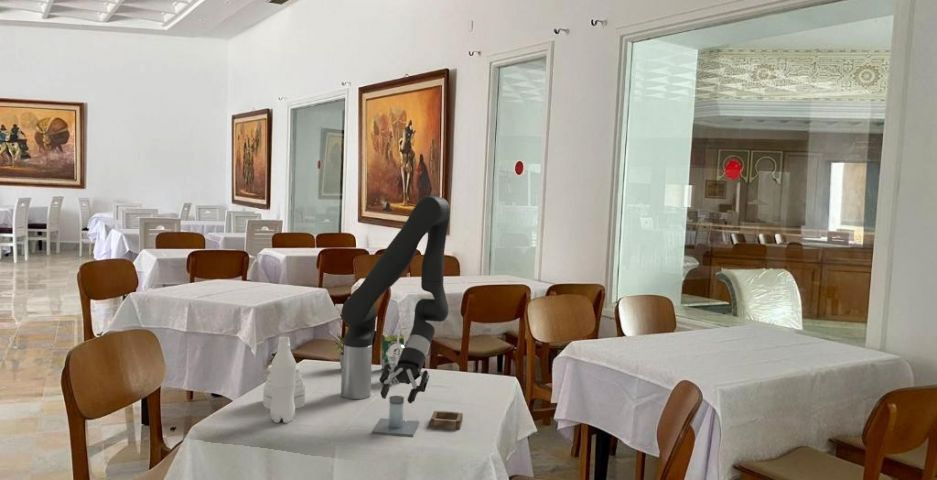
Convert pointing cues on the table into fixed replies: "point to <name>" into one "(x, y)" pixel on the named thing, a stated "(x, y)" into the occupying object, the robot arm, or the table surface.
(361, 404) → the table surface
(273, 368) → the water bottle
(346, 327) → the house plant
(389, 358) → the cup with straw
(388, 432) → the slate pad
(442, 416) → the walnut collar
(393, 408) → the grey-capped cylinder canister
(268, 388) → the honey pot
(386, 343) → the coffee box
